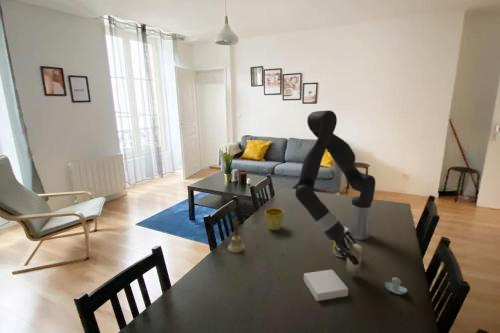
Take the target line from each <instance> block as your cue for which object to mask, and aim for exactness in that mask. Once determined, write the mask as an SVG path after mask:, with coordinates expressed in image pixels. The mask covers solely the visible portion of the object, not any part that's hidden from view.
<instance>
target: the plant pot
mask: <svg viewBox="0 0 500 333" xmlns="http://www.w3.org/2000/svg"><path fill="white" fill-rule="evenodd" d="M264 218H265V219H266V224H267V227H268V229H269V230H271V231H278V230H280V229H281V226H282V222H283V219H284V210H283V209H281V208H278V207H270V208H267V209H265V211H264Z"/></svg>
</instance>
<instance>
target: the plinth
mask: <svg viewBox="0 0 500 333" xmlns="http://www.w3.org/2000/svg"><path fill="white" fill-rule="evenodd" d="M303 281H304V283H305V284H306V286H307V288H308V289H309V291H310V293H311V295H312V296H313V298H314V299H315V301H316V302H320V301H325V300H331V299H337V297H338V298H343V297H348V296H349V288H348V287H347V285H346V284H345V283H344V281H342V279H341V278H340V277H339V275H337V274H336V272H335V271H334V270H333V269H326V270H318V271H313V272H304V273H303Z"/></svg>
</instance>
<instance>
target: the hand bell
mask: <svg viewBox="0 0 500 333" xmlns="http://www.w3.org/2000/svg"><path fill="white" fill-rule="evenodd" d="M239 226H240V221H239V218H238V216H235V217H234V220H233V229H234V236H232V237H231V238H230V239H231V241H230V243H229V245H228V247H227V250H228V251H229V252H231V253H233V254H235V253H242V252H243V251H245V249H246V247H245V245H244V244H243V241H242V238H241V236H239V232H238V231H239Z"/></svg>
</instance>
